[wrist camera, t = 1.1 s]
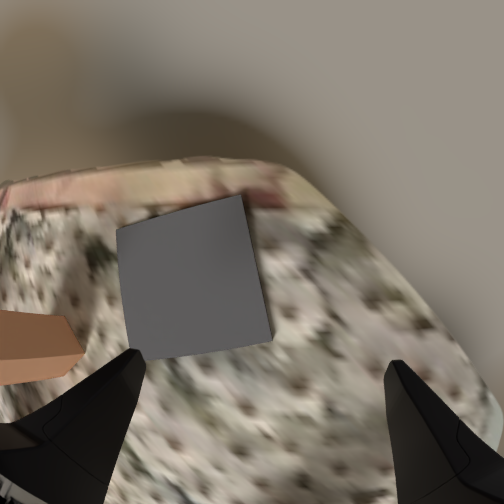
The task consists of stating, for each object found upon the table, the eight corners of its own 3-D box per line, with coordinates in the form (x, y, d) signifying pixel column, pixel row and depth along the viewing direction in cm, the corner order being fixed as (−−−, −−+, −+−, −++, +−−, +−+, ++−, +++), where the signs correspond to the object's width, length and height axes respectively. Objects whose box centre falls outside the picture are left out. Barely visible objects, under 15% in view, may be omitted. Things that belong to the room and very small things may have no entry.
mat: (272, 340, 23) (272, 340, 22) (136, 360, 24) (132, 361, 23) (241, 198, 26) (240, 194, 25) (119, 232, 27) (116, 229, 26)
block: (85, 353, 24) (-13, 360, 12) (64, 376, 24) (-25, 387, 11) (64, 316, 26) (-29, 305, 13) (45, 340, 25) (-42, 337, 13)
